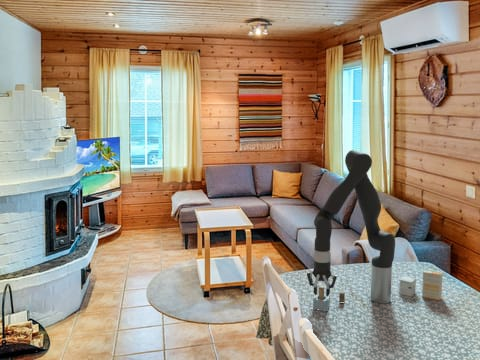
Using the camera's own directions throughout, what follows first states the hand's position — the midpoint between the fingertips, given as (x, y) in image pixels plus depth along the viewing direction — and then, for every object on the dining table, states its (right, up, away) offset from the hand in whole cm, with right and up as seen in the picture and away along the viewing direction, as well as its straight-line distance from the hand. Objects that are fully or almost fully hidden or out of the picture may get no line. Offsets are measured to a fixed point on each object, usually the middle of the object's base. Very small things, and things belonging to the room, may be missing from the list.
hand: (321, 294), depth 203 cm
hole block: (0, -6, +1) cm, 6 cm away
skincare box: (+45, -4, +16) cm, 48 cm away
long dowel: (0, -6, +1) cm, 6 cm away
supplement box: (+55, -4, +10) cm, 56 cm away
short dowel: (+11, -5, +7) cm, 14 cm away
